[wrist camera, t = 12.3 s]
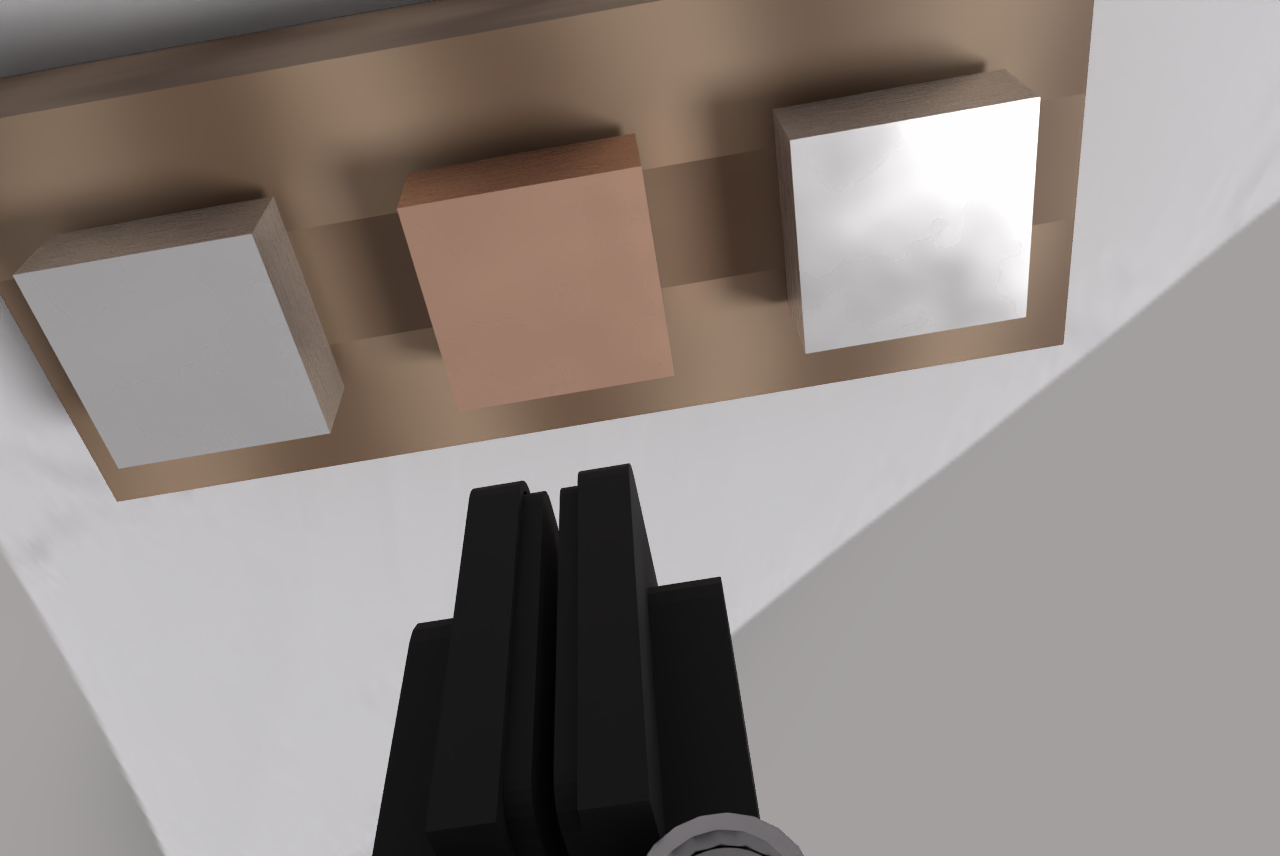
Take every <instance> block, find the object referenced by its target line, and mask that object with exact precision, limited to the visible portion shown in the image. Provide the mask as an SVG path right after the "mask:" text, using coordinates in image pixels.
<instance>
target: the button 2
mask: <svg viewBox="0 0 1280 856" xmlns="http://www.w3.org/2000/svg"><path fill="white" fill-rule="evenodd" d="M1039 108H1040V96H1038V95H1037V94H1036V93H1035V92H1033V91H1032V90H1031V89H1029V88H1028V87H1027V86H1026V85H1024V84H1023V83H1022V82H1021V81H1019V80H1018V79H1017V78H1016V77H1014V76H1013V75H1012V74H1010V73H1009V72H1008V71H1007V70H1005V69H1000V70H994V71H988V72H983V73H977V74H971V75H965V76H960V77H954V78H948V79H943V80H937V81H931V82H925V83H920V84H914V85H908V86H902V87H897V88H891V89H885V90H879V91H874V92H868V93H862V94H857V95H851V96H845V97H839V98H834V99H828V100H822V101H816V102H811V103H805V104H799V105H793V106H788V107H782V108H776V109H773V120H774V132H775V145H776V157H777V169H778V181H779V194H780V206H781V218H782V230H783V243H784V255H785V267H786V279H787V292H788V304H789V313H790V316H791V318H792V321H793V323H794V326H795V328H796V331H797V333H798V336H799V338H800V341H801V344H802V346H803V349H804V351H805V354H808V353H814V352H820V351H826V350H832V349H838V348H844V347H850V346H856V345H862V344H868V343H874V342H880V341H886V340H892V339H898V338H904V337H910V336H916V335H922V334H927V333H933V332H939V331H945V330H951V329H957V328H963V327H969V326H975V325H981V324H987V323H993V322H999V321H1005V320H1011V319H1017V318H1023V317H1026V309H1027V294H1028V278H1029V263H1030V247H1031V232H1032V216H1033V201H1034V185H1035V170H1036V154H1037V139H1038V124H1039Z"/></svg>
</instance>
